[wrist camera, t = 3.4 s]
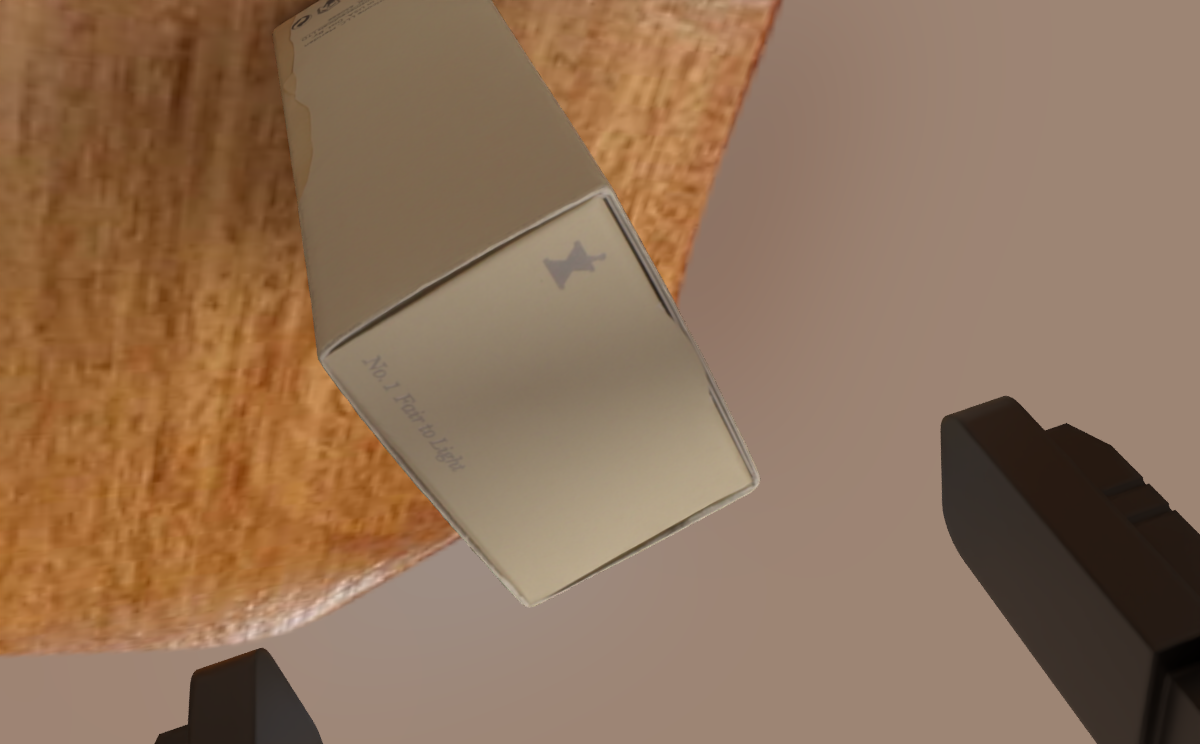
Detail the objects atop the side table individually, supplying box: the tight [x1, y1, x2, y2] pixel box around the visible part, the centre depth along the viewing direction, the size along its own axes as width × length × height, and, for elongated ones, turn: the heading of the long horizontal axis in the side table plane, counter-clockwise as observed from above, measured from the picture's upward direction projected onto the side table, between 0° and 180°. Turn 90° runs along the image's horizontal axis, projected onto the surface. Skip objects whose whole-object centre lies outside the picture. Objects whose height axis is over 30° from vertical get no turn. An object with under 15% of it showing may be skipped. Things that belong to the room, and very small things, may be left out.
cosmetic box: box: [272, 0, 760, 607], centre depth 20 cm, size 6×4×12 cm
